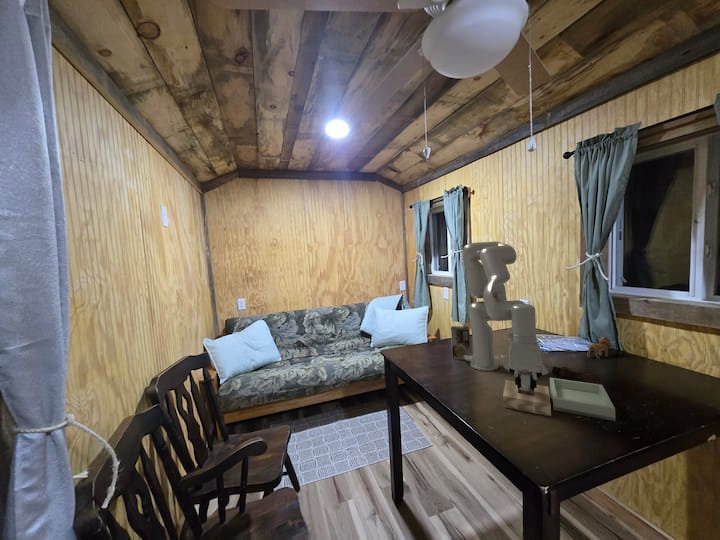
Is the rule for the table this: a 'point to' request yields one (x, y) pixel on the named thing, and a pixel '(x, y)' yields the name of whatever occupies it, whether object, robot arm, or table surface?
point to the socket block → (527, 399)
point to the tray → (581, 399)
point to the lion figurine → (599, 347)
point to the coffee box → (460, 341)
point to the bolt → (575, 375)
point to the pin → (525, 382)
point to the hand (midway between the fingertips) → (525, 387)
